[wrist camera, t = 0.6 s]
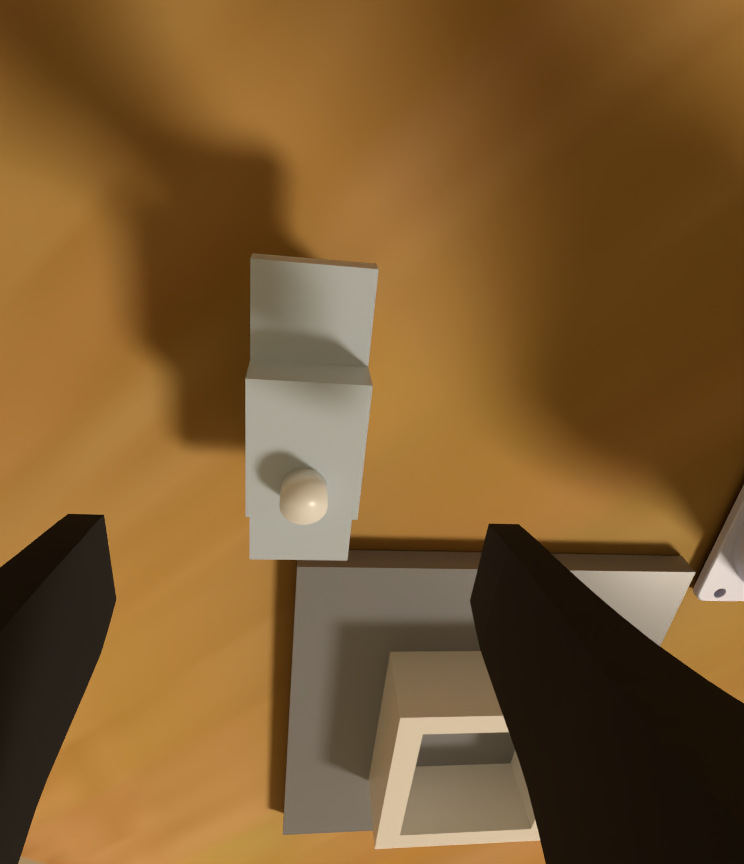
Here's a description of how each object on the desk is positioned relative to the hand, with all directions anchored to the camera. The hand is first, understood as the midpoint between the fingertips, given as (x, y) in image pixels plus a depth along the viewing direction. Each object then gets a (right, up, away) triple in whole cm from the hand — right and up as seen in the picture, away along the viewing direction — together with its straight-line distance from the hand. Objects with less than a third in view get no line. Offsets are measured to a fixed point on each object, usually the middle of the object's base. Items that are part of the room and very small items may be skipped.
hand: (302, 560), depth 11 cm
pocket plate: (+5, -10, +16) cm, 20 cm away
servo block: (-1, +4, +8) cm, 9 cm away
